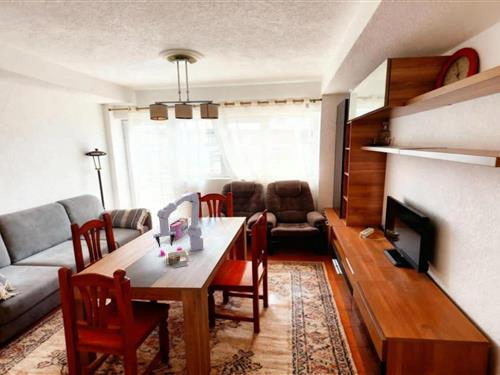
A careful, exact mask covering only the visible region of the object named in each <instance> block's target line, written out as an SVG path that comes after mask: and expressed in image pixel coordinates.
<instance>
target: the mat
mask: <svg viewBox="0 0 500 375" xmlns="http://www.w3.org/2000/svg"><path fill="white" fill-rule="evenodd" d="M172 266H173V269H179V268H184V267H188V266H189V265H188V262H187V261H183V262H178V263H175V264H174V265H172Z"/></svg>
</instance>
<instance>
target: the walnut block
mask: <svg viewBox="0 0 500 375" xmlns="http://www.w3.org/2000/svg"><path fill="white" fill-rule="evenodd" d="M179 261H180V255H177V254H174V255H173V256H171V257H169V258H168V264H167V265H172V266H173V265H174V264H175V263H177V262H178V263H179Z"/></svg>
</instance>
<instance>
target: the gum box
mask: <svg viewBox="0 0 500 375" xmlns="http://www.w3.org/2000/svg"><path fill="white" fill-rule="evenodd" d="M188 229H189V218H184V217H183V218H182V217H181V218H178V219H177V220H175V221H174V222H172V223H171V224H170V223H169V232H176V235H175V237H174V240H176V241H177V240H180V239H181V238H182V237H184V236H185V235H186V234H188ZM169 239H170V240H171V238H170V237H169Z"/></svg>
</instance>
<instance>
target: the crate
mask: <svg viewBox="0 0 500 375" xmlns="http://www.w3.org/2000/svg"><path fill="white" fill-rule="evenodd" d="M174 254H177V255H180V261H179V262H185V261H189V253H188V251H187V249H182V250H180V251H177V250H176V251H175V250H174V251H168V252H165V256H166V257H165V259H166V260H165V261H166V264H167V265H169V264H168V258H169V257H171V256H173V255H174ZM179 262H177V263H179Z"/></svg>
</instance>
